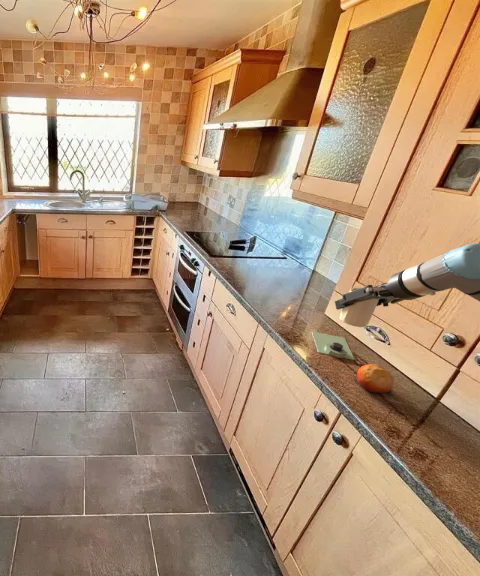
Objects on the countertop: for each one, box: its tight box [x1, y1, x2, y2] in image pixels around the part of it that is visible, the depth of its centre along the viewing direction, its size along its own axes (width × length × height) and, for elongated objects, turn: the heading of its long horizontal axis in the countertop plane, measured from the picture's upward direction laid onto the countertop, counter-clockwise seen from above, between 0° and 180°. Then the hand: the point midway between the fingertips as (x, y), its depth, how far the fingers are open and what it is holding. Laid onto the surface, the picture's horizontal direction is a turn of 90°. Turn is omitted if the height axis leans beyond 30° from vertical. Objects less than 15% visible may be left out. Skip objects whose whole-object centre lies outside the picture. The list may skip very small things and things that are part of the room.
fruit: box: [354, 363, 395, 394], centre depth 89 cm, size 8×8×8 cm
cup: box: [339, 287, 380, 328], centre depth 95 cm, size 7×7×10 cm
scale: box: [311, 331, 356, 361], centre depth 105 cm, size 10×14×3 cm
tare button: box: [331, 343, 343, 352], centre depth 101 cm, size 3×3×2 cm
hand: (349, 305), depth 99 cm, fingers closed on cup, 7 cm apart
